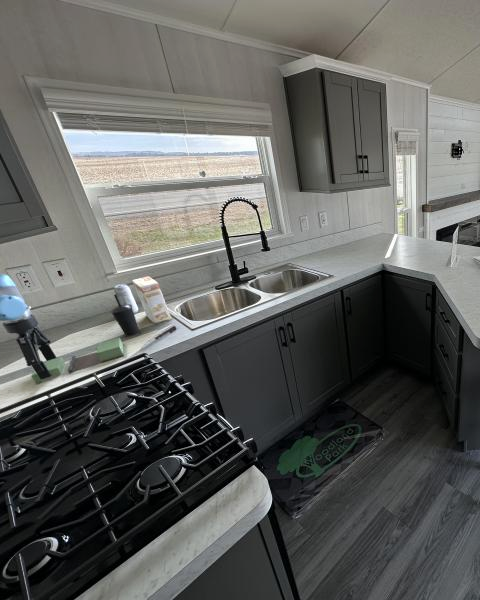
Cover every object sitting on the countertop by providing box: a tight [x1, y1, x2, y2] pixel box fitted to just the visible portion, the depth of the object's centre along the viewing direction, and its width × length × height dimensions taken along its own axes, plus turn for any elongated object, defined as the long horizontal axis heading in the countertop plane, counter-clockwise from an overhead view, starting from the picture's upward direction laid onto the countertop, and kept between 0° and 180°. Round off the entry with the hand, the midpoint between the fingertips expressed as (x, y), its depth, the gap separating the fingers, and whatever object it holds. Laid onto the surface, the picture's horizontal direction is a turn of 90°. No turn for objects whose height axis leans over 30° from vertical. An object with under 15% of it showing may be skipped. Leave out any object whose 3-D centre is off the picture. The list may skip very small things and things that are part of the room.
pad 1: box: [30, 356, 65, 385], centre depth 121 cm, size 7×9×4 cm
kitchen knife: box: [141, 325, 177, 349], centre depth 142 cm, size 18×1×2 cm, turn 169°
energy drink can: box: [113, 283, 139, 314], centre depth 164 cm, size 6×6×15 cm
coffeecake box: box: [131, 275, 172, 324], centre depth 157 cm, size 15×7×20 cm, turn 49°
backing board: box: [68, 343, 125, 374], centre depth 129 cm, size 16×12×2 cm
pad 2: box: [96, 337, 124, 362], centre depth 131 cm, size 7×9×4 cm
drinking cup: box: [109, 294, 140, 337], centre depth 142 cm, size 8×8×20 cm
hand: (49, 368), depth 121 cm, fingers open, 13 cm apart
